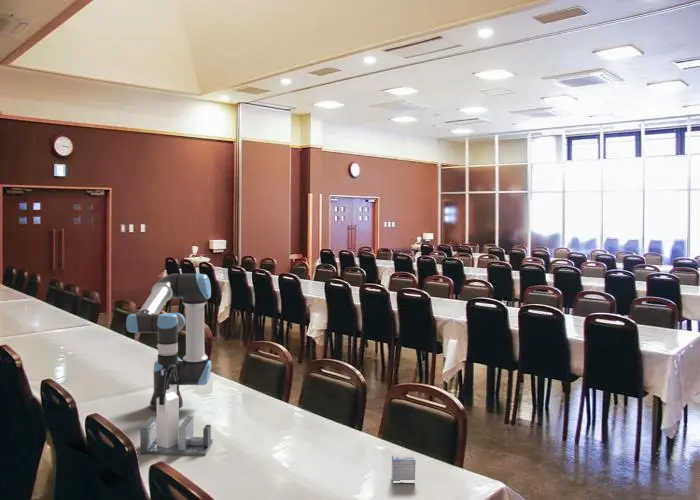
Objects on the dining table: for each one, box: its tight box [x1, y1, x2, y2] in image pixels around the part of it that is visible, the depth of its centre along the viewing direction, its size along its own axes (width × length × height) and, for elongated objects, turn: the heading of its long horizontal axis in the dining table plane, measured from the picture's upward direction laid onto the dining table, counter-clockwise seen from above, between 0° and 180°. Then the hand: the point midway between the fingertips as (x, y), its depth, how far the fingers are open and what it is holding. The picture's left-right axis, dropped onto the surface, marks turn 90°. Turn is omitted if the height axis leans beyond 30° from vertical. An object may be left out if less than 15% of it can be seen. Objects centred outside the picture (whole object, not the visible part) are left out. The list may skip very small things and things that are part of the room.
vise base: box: [139, 416, 214, 456], centre depth 225 cm, size 12×25×10 cm, turn 91°
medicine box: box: [391, 454, 417, 481], centre depth 201 cm, size 8×4×9 cm, turn 92°
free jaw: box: [178, 415, 212, 450], centre depth 225 cm, size 12×11×9 cm
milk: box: [156, 388, 180, 448], centre depth 225 cm, size 6×6×22 cm
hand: (167, 406), depth 225 cm, fingers open, 13 cm apart
